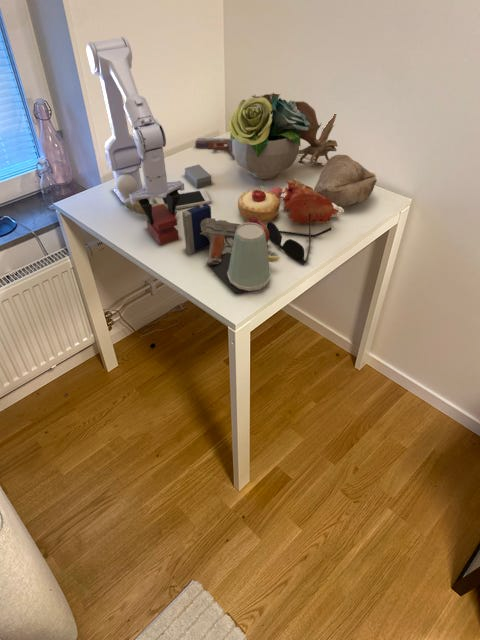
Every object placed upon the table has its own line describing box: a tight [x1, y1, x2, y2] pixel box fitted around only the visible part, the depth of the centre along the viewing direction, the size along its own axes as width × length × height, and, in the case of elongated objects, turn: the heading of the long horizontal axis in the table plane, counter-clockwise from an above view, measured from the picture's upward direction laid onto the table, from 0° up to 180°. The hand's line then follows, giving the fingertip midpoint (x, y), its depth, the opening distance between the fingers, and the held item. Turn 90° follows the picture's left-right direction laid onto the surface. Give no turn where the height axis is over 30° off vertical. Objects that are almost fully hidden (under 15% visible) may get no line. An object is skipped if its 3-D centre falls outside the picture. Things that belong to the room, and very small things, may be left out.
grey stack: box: [184, 164, 213, 189], centre depth 157 cm, size 9×5×3 cm, turn 30°
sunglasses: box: [266, 213, 332, 265], centre depth 130 cm, size 17×14×5 cm
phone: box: [207, 251, 247, 295], centre depth 122 cm, size 7×1×15 cm
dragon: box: [294, 100, 338, 166], centre depth 160 cm, size 17×25×19 cm
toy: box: [267, 244, 276, 256], centre depth 129 cm, size 1×8×2 cm
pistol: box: [200, 217, 242, 266], centre depth 128 cm, size 19×2×12 cm
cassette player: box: [181, 203, 212, 255], centre depth 126 cm, size 7×2×12 cm, turn 125°
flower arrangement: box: [228, 91, 310, 180], centre depth 151 cm, size 25×25×24 cm
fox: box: [268, 254, 282, 263], centre depth 121 cm, size 12×9×2 cm
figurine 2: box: [267, 186, 289, 213], centre depth 145 cm, size 12×3×7 cm
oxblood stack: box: [146, 219, 180, 246], centre depth 134 cm, size 9×6×3 cm, turn 30°
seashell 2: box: [313, 154, 378, 207], centre depth 144 cm, size 16×17×15 cm
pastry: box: [237, 183, 281, 224], centre depth 139 cm, size 12×12×9 cm
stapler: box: [331, 203, 345, 219], centre depth 140 cm, size 13×5×2 cm
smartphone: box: [154, 189, 211, 210], centre depth 147 cm, size 7×15×1 cm, turn 109°
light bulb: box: [115, 174, 137, 200], centre depth 142 cm, size 6×6×10 cm
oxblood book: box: [152, 204, 178, 231], centre depth 131 cm, size 9×6×2 cm, turn 30°
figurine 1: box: [124, 198, 178, 218], centre depth 140 cm, size 5×5×15 cm
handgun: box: [194, 137, 235, 159], centre depth 171 cm, size 3×19×12 cm
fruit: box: [245, 217, 270, 245], centre depth 126 cm, size 8×8×10 cm
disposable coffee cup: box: [227, 221, 272, 292], centre depth 114 cm, size 11×11×15 cm
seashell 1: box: [282, 177, 338, 225], centre depth 133 cm, size 17×11×15 cm
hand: (161, 219), depth 132 cm, fingers closed on oxblood book, 5 cm apart
